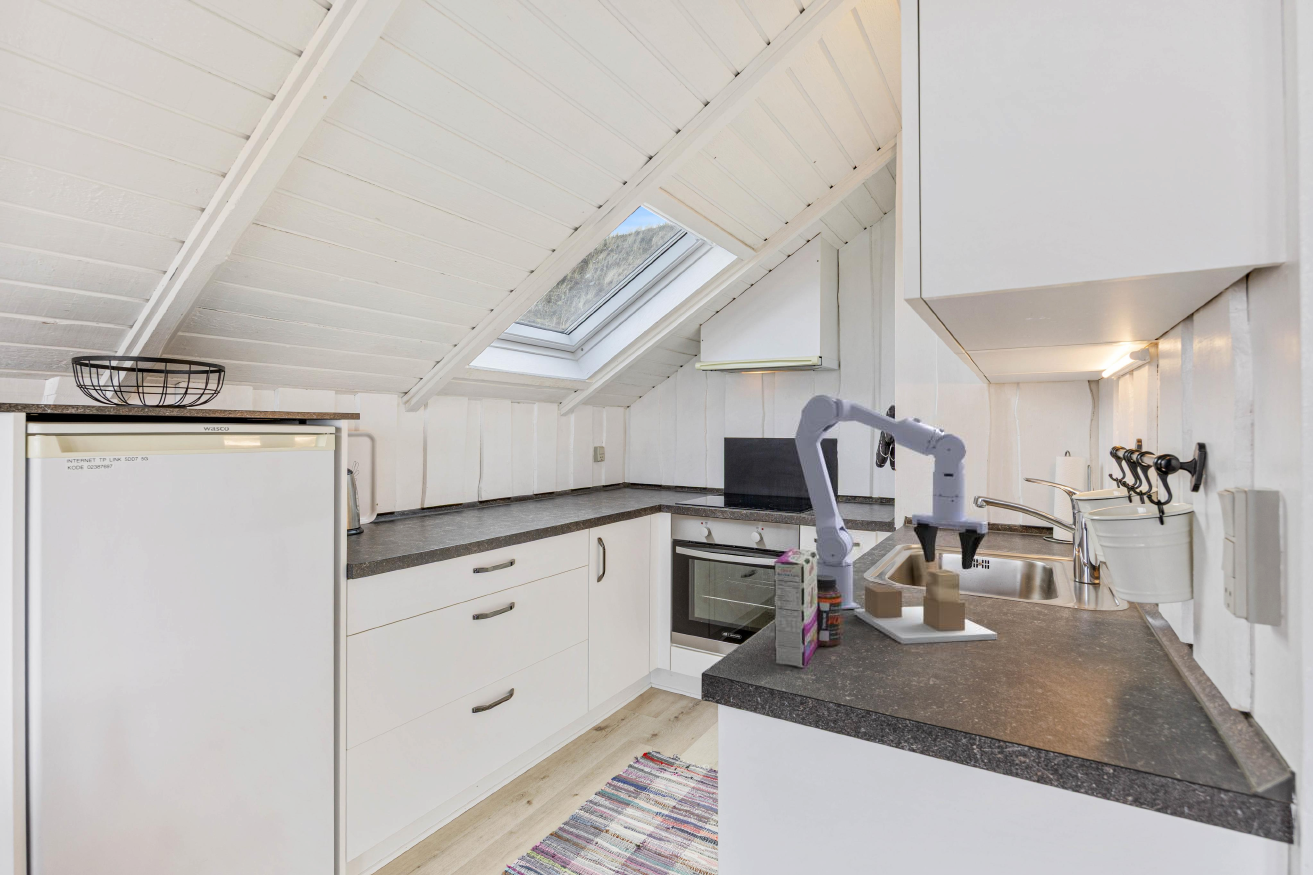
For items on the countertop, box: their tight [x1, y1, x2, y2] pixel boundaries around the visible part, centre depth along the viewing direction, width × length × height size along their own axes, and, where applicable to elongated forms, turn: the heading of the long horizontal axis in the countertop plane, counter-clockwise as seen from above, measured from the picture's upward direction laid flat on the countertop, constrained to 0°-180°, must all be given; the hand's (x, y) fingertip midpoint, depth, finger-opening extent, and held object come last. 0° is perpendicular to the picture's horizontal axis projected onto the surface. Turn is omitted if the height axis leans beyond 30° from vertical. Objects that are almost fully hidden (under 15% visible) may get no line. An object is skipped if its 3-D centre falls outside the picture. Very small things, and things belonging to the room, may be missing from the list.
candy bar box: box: [773, 548, 819, 669], centre depth 104 cm, size 11×5×16 cm, turn 155°
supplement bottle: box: [817, 575, 842, 647], centre depth 110 cm, size 6×6×11 cm
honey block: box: [925, 568, 960, 603], centre depth 116 cm, size 4×4×5 cm
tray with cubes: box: [853, 584, 998, 645], centre depth 120 cm, size 18×18×6 cm
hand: (947, 565), depth 125 cm, fingers open, 7 cm apart
